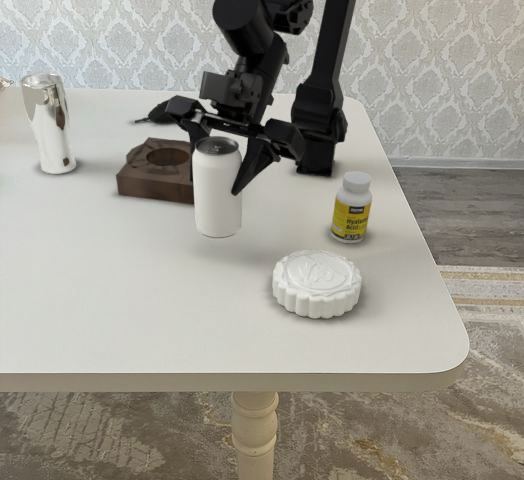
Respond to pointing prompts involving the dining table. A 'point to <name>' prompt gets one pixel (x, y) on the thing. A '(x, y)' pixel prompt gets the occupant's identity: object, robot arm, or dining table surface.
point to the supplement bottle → (352, 208)
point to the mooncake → (316, 283)
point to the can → (216, 186)
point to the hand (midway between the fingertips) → (212, 188)
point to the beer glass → (49, 120)
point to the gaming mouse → (158, 114)
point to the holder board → (158, 171)
